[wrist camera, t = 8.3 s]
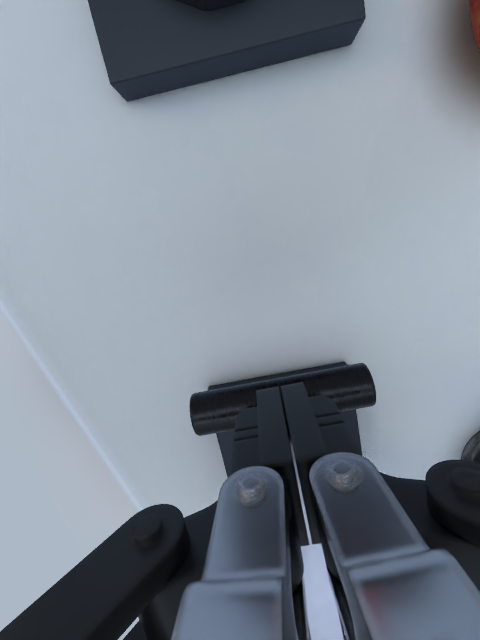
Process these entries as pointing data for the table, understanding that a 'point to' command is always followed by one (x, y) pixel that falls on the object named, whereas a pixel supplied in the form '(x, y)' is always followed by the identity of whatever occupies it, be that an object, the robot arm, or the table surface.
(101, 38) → the control block
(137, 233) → the table surface
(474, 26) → the fruit
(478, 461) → the black chess piece
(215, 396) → the lever
